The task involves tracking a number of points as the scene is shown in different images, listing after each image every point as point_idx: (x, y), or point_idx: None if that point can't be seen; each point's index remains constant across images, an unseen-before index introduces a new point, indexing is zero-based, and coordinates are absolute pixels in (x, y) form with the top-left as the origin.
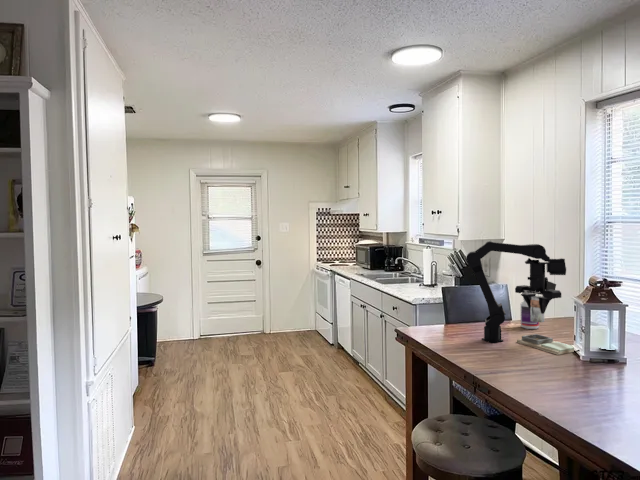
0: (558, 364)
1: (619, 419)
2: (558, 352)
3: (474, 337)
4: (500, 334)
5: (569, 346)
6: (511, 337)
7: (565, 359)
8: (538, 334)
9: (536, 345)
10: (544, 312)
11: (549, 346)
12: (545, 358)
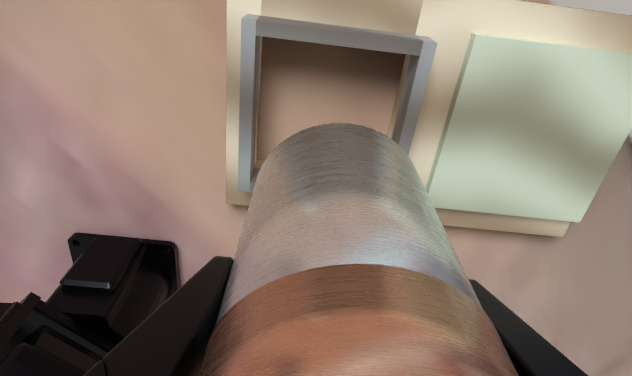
0: (607, 339)
1: None
2: (564, 229)
3: (23, 295)
4: (136, 273)
5: (608, 93)
6: (97, 114)
7: (616, 262)
8: (268, 23)
9: None
10: (485, 294)
11: (490, 206)
12: (525, 315)
